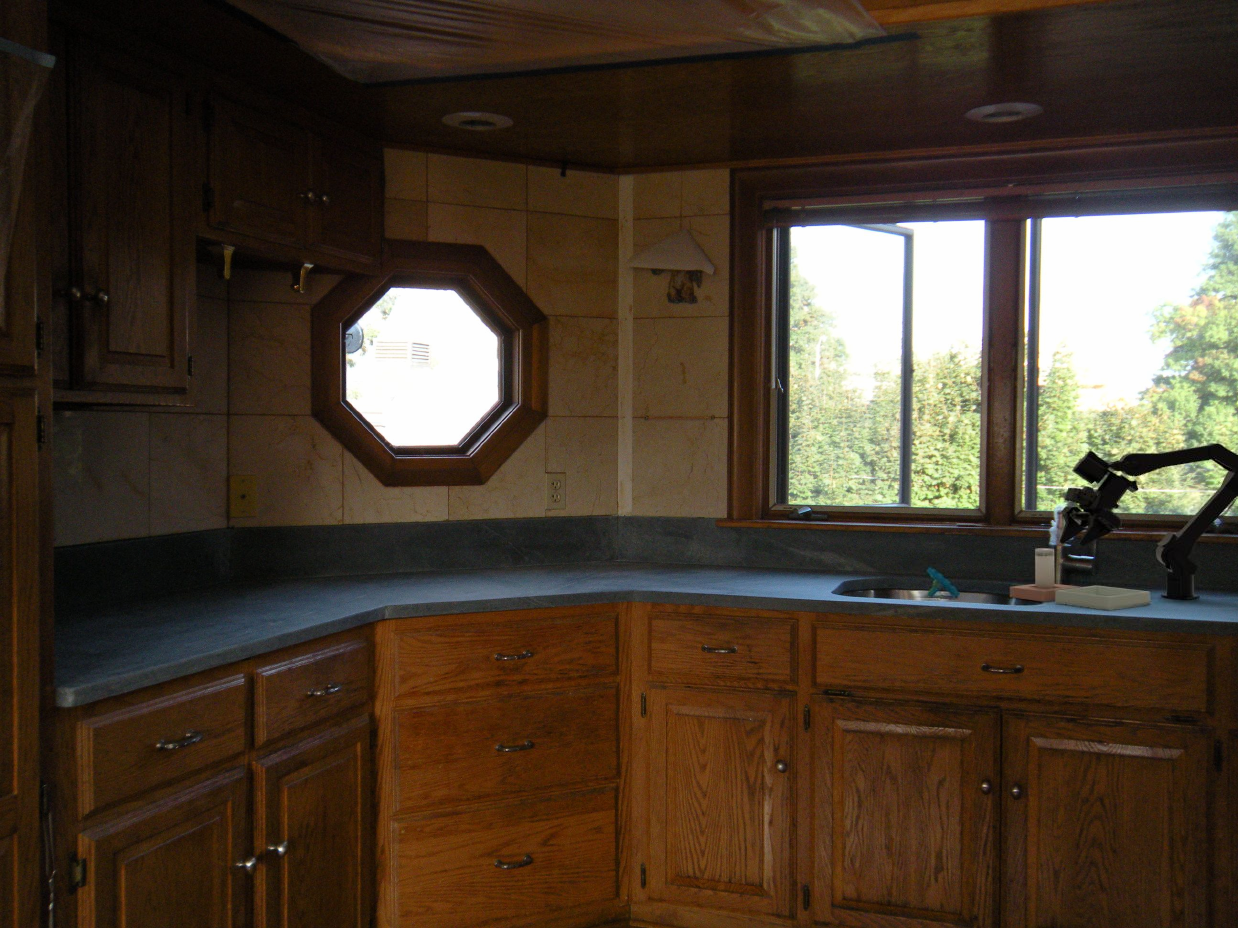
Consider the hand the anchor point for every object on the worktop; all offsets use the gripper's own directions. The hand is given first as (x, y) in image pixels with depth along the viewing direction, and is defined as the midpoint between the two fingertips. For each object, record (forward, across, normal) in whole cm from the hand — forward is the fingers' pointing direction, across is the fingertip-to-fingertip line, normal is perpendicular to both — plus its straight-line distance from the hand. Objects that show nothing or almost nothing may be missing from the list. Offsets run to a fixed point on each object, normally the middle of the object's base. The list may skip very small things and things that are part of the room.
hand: (1070, 544), depth 258 cm
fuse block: (+14, -2, +4) cm, 15 cm away
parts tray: (+9, +11, +10) cm, 17 cm away
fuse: (+14, -2, +4) cm, 15 cm away
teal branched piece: (+30, -7, -15) cm, 34 cm away
